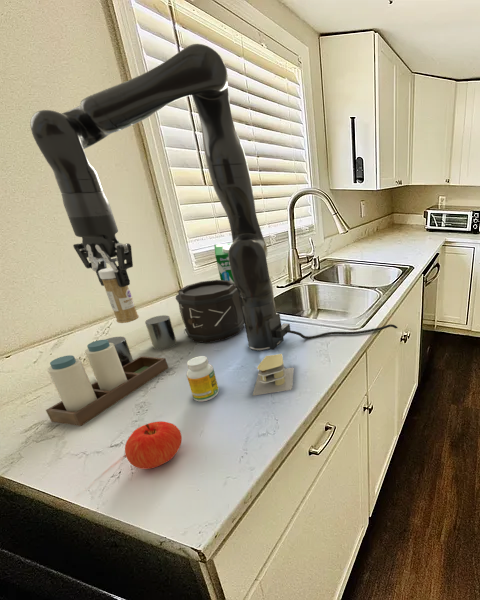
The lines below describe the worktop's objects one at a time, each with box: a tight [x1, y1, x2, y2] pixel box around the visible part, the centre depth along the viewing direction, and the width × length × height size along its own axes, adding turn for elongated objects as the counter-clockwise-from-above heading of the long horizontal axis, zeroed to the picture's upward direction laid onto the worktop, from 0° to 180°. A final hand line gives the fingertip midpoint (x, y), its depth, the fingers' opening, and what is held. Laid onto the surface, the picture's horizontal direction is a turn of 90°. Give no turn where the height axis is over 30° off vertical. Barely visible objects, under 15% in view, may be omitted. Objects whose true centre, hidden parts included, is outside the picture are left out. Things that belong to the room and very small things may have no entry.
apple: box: [124, 420, 183, 470], centre depth 59 cm, size 8×8×8 cm
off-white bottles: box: [47, 339, 127, 412], centre depth 73 cm, size 5×12×13 cm, turn 170°
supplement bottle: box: [186, 355, 220, 403], centre depth 76 cm, size 5×5×10 cm
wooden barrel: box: [175, 279, 245, 344], centre depth 106 cm, size 18×18×16 cm
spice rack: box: [45, 355, 169, 427], centre depth 78 cm, size 8×22×4 cm, turn 170°
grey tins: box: [104, 314, 178, 366], centre depth 92 cm, size 6×20×9 cm, turn 170°
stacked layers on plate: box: [252, 353, 295, 397], centre depth 81 cm, size 10×9×6 cm
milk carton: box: [213, 242, 235, 285], centre depth 123 cm, size 9×9×25 cm
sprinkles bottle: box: [98, 266, 140, 324], centre depth 80 cm, size 5×5×13 cm
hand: (115, 285), depth 79 cm, fingers closed on sprinkles bottle, 4 cm apart
